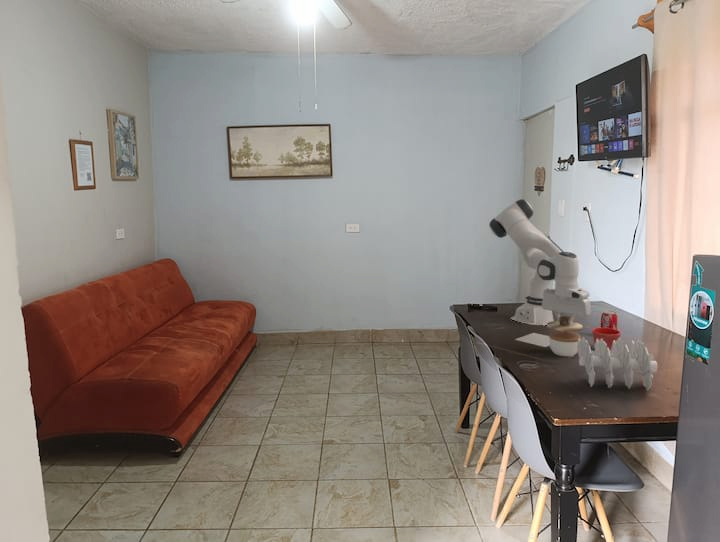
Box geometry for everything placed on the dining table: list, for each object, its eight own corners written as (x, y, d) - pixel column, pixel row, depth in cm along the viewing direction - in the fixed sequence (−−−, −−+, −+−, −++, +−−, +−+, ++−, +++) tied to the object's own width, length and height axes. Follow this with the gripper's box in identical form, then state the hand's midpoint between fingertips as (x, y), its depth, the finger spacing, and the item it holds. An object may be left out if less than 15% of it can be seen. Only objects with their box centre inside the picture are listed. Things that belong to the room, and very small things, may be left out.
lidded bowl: (584, 354, 219) (585, 329, 217) (573, 362, 210) (574, 336, 208) (555, 349, 227) (556, 325, 225) (543, 356, 218) (544, 331, 216)
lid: (540, 326, 217) (540, 316, 217) (558, 320, 226) (558, 311, 225) (571, 333, 207) (572, 322, 206) (588, 326, 215) (589, 316, 215)
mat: (514, 341, 240) (514, 339, 239) (533, 334, 249) (533, 332, 249) (545, 349, 227) (545, 347, 227) (564, 341, 237) (564, 339, 237)
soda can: (618, 339, 239) (619, 314, 237) (602, 338, 241) (603, 313, 239) (614, 334, 246) (615, 310, 244) (598, 334, 247) (599, 310, 245)
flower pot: (608, 358, 213) (609, 335, 212) (586, 351, 223) (587, 329, 222) (625, 353, 218) (626, 331, 217) (602, 347, 228) (603, 326, 226)
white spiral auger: (655, 403, 178) (579, 395, 183) (643, 367, 192) (572, 360, 197) (670, 366, 168) (588, 359, 173) (656, 330, 182) (581, 325, 187)
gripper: (539, 288, 220) (538, 319, 222) (585, 295, 204) (584, 329, 206) (547, 286, 224) (546, 317, 226) (593, 293, 208) (591, 326, 210)
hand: (564, 323), depth 216 cm, fingers closed on lid, 3 cm apart
